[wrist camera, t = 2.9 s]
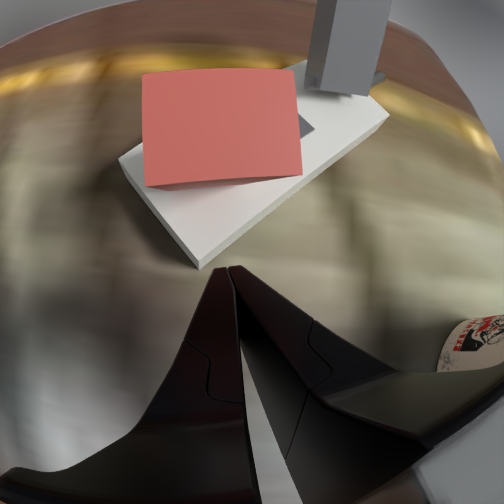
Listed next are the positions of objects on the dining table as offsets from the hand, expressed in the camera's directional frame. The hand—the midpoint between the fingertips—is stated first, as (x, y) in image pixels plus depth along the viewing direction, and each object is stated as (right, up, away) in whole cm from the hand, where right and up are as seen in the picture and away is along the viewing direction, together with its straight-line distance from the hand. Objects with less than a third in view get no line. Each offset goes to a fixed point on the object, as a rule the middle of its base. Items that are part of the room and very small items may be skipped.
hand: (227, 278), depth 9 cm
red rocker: (-2, +6, +7) cm, 9 cm away
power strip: (+4, +10, +12) cm, 17 cm away
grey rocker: (+7, +13, +10) cm, 18 cm away
